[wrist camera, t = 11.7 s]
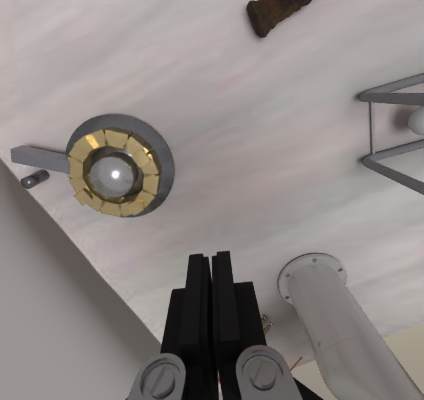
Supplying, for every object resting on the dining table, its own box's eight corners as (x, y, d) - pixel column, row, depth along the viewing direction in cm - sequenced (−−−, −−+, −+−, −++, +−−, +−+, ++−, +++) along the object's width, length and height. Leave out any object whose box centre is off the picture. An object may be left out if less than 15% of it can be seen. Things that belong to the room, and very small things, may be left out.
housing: (182, 208, 41) (178, 223, 37) (57, 222, 42) (39, 238, 37) (163, 107, 35) (156, 109, 30) (17, 125, 36) (-12, 130, 31)
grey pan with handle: (167, 139, 35) (162, 144, 32) (155, 214, 40) (150, 226, 37) (22, 106, 33) (0, 108, 30) (28, 189, 38) (10, 199, 35)
